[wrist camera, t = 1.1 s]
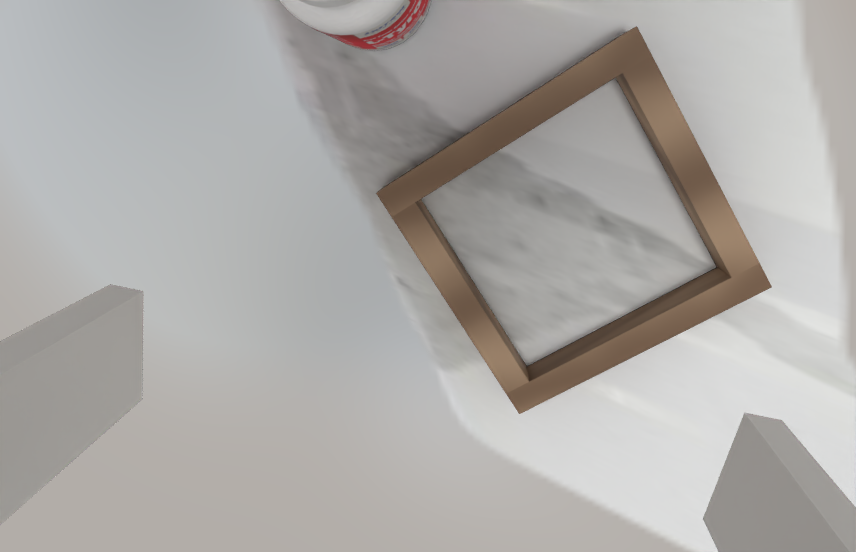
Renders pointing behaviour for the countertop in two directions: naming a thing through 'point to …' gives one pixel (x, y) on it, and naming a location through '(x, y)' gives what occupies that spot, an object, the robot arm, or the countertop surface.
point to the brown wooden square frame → (635, 330)
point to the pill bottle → (362, 20)
